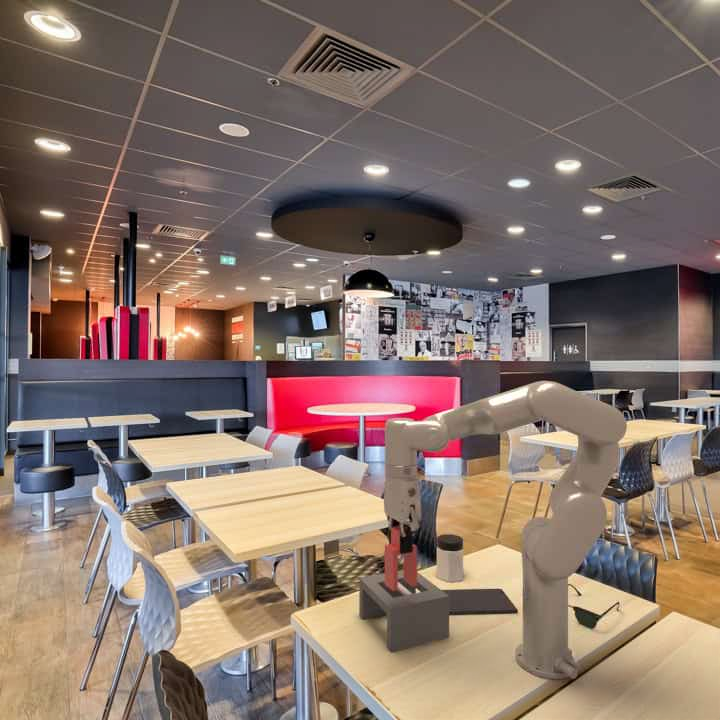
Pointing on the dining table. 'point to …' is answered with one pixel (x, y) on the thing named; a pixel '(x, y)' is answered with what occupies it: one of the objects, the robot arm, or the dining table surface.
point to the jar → (450, 558)
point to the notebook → (479, 602)
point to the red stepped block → (392, 561)
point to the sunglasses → (588, 614)
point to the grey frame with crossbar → (406, 610)
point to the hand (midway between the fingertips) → (400, 548)
